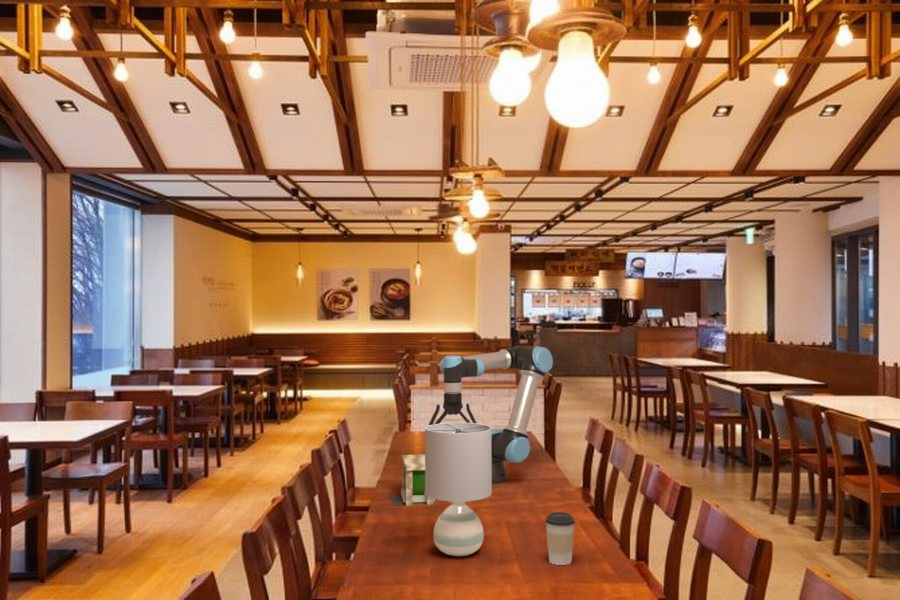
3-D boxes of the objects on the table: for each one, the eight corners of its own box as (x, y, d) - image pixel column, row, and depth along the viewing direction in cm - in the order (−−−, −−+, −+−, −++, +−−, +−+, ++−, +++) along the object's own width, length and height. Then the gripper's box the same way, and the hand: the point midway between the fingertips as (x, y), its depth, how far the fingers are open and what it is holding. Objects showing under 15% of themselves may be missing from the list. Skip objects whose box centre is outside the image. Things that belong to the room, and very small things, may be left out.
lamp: (440, 567, 223) (440, 435, 223) (415, 546, 243) (415, 425, 243) (503, 557, 231) (503, 430, 232) (474, 538, 251) (473, 421, 252)
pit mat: (399, 496, 308) (399, 495, 308) (402, 505, 294) (402, 504, 294) (390, 496, 308) (390, 496, 308) (392, 505, 294) (392, 505, 294)
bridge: (427, 491, 317) (427, 454, 317) (433, 505, 293) (433, 465, 293) (402, 492, 315) (402, 455, 316) (406, 506, 292) (406, 466, 292)
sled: (472, 491, 314) (472, 473, 314) (478, 499, 301) (478, 480, 301) (401, 494, 310) (400, 475, 310) (403, 502, 297) (403, 483, 297)
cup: (425, 502, 299) (425, 475, 299) (404, 501, 301) (404, 474, 301) (430, 496, 308) (430, 470, 308) (409, 495, 310) (409, 469, 310)
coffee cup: (543, 557, 231) (542, 510, 232) (571, 556, 232) (570, 509, 232) (549, 567, 222) (549, 518, 223) (578, 566, 223) (578, 517, 223)
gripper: (480, 390, 313) (480, 440, 313) (422, 392, 310) (422, 442, 309) (483, 392, 305) (483, 443, 305) (424, 394, 302) (424, 445, 302)
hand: (453, 442), depth 307 cm, fingers open, 13 cm apart
